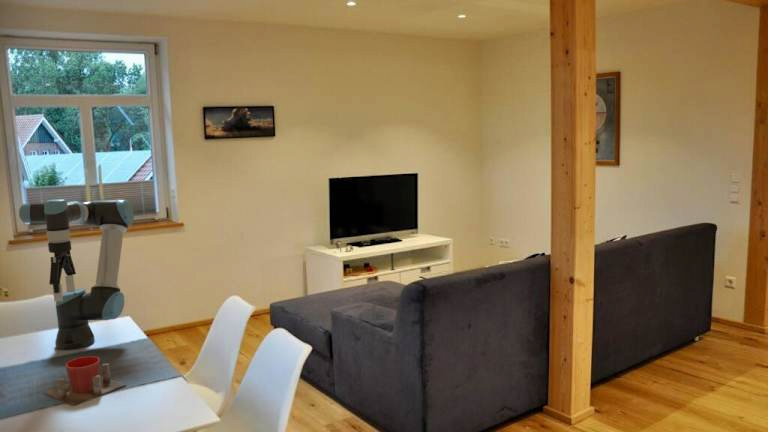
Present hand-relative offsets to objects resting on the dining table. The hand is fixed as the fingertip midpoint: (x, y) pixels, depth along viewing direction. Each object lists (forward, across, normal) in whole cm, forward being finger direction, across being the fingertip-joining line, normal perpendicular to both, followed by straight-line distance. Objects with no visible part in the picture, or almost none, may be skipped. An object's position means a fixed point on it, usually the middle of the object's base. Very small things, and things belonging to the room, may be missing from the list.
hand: (65, 296), depth 233 cm
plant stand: (+29, +23, +11) cm, 38 cm away
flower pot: (+28, +22, +11) cm, 38 cm away
